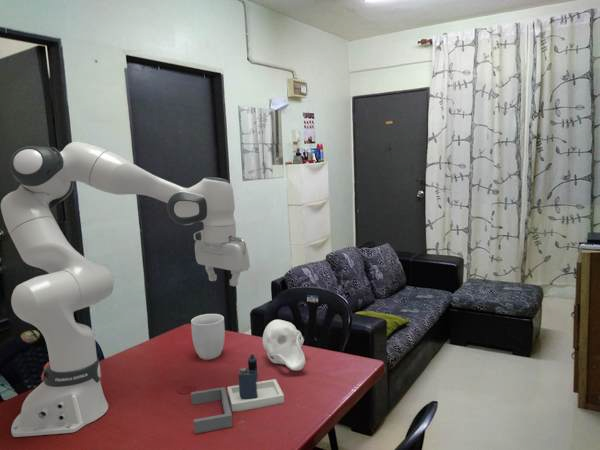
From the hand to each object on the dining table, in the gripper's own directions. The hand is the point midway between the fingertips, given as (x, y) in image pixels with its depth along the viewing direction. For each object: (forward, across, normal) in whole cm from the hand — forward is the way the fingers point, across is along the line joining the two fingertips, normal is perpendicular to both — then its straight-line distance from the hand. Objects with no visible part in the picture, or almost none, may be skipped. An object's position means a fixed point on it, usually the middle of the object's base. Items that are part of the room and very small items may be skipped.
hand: (223, 283), depth 130 cm
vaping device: (+30, -11, +2) cm, 32 cm away
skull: (+31, -2, -21) cm, 38 cm away
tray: (+31, -12, 0) cm, 33 cm away
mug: (+31, +23, -10) cm, 40 cm away
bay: (+31, -8, +13) cm, 35 cm away
